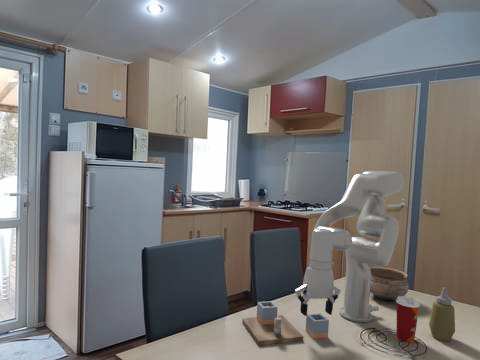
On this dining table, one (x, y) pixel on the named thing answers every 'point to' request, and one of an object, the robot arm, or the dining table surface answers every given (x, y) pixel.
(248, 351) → the dining table surface
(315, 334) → the sleeve
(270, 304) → the sleeve
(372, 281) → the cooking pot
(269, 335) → the pin board
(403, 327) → the paper cup
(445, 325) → the squeeze bottle
